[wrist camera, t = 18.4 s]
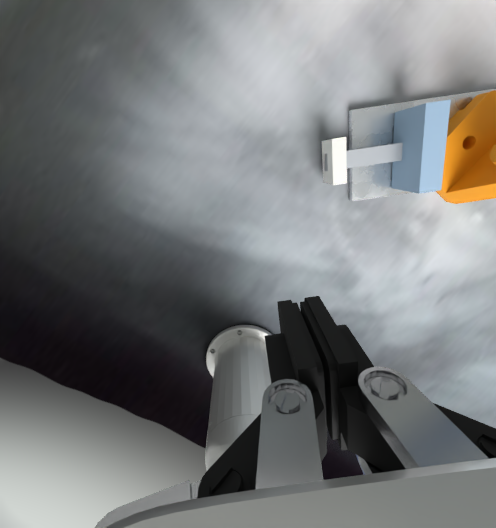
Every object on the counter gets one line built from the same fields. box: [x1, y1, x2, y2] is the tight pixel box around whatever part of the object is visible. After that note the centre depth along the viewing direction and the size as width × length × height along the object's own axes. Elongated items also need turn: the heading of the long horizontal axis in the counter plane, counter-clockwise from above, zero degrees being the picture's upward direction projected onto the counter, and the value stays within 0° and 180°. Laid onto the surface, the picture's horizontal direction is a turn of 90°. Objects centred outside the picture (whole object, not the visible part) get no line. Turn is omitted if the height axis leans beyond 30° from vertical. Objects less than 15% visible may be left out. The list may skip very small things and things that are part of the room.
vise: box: [349, 88, 496, 201], centre depth 33 cm, size 11×24×7 cm, turn 98°
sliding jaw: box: [322, 99, 451, 193], centre depth 33 cm, size 9×12×6 cm
